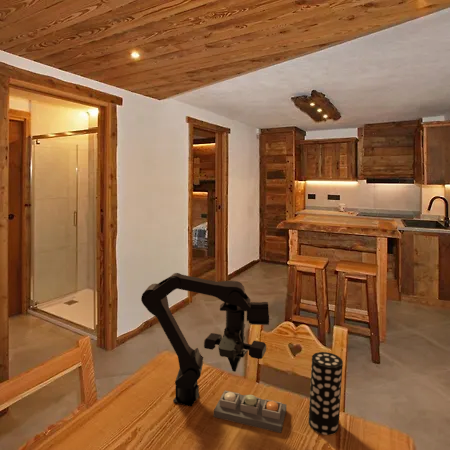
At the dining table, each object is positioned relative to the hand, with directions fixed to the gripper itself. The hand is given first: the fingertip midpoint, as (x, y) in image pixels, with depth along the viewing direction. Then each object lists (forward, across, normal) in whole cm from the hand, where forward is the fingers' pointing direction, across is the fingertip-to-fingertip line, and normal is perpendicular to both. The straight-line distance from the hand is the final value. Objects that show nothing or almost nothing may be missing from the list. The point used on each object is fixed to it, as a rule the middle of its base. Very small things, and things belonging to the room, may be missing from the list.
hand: (234, 370), depth 108 cm
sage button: (+7, +7, -4) cm, 10 cm away
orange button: (+8, +13, -3) cm, 16 cm away
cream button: (+8, 0, -4) cm, 9 cm away
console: (+10, +6, -4) cm, 13 cm away
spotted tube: (+11, +27, 0) cm, 29 cm away
